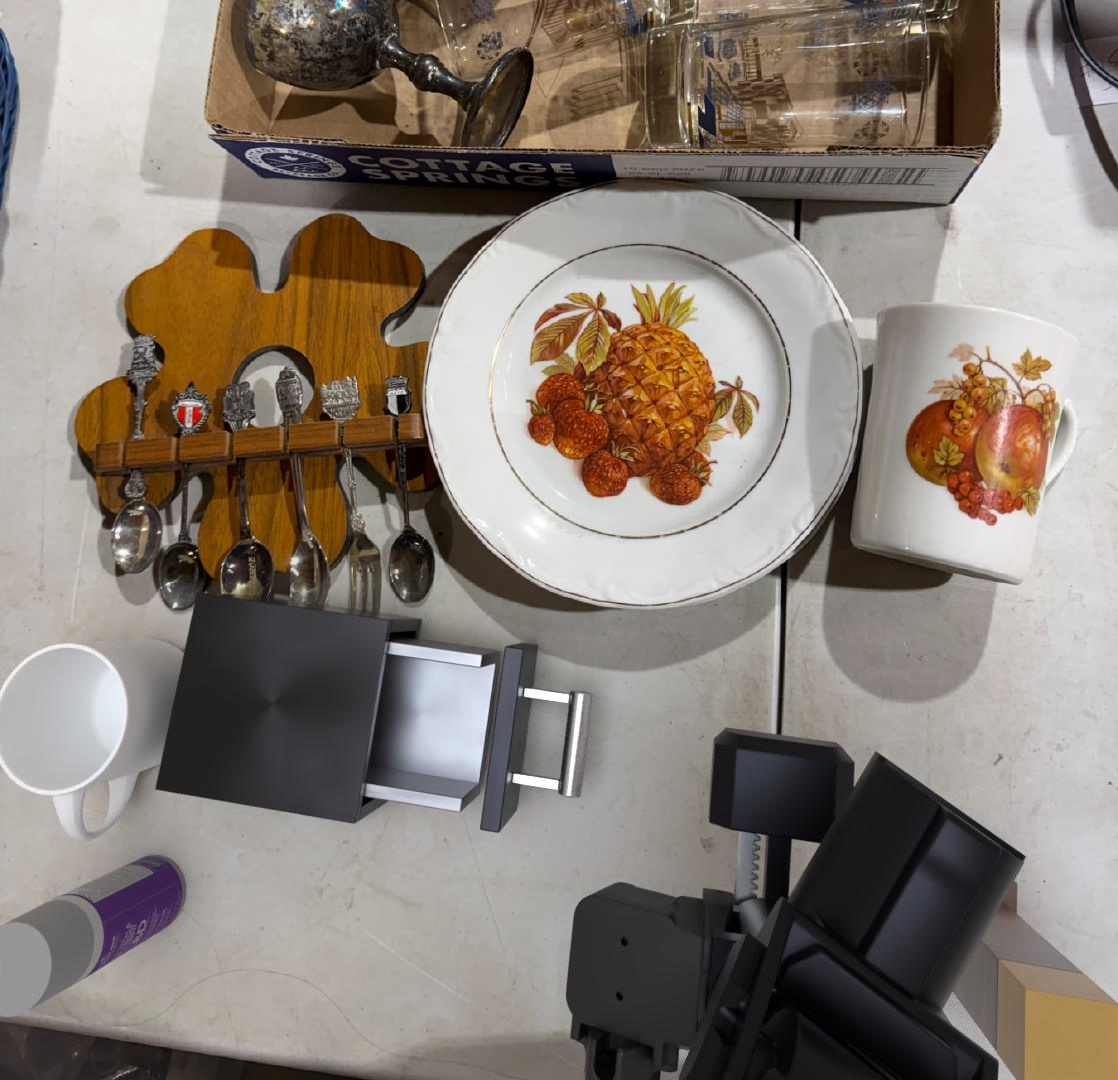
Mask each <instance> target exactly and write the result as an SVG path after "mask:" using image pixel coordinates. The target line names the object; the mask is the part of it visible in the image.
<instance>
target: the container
mask: <svg viewBox="0 0 1118 1080" xmlns="http://www.w3.org/2000/svg"><path fill="white" fill-rule="evenodd" d="M185 881H186V880H185V877H184V875H183V873H182V870H181V869H180V868H179V866H178V864H176V863H175V861H173V860H172V859H170V858H168V857H166V856H164V855H161V854H160V855H159V854H150V855H146V856H143V857H141V858H139V859H136V860H134V861H132V862H130V863H128V864H125V865H122V866H121V867H118V868H117V869H115V870H113V871H110V872H108V873H106V874H104V875H102V876H100V877H97V878H95V879H92V880H90V881H89V882H86V883H85V884H82V885H80V886H77V887H75V888H73V889H71V890H69V891H67V892H65V893H62V894H61V895H58V896H56V897H54V898H51V899H50V900H47V901H46V902H44V903H43V904H41V905H38V906H36V907H34V908H32V909H31V910H29V911H27V912H24V913H23V914H21V915H18V916H17V917H15V918H13V919H11V920H9V921H8V922H5V923H3V924H1V925H0V1017H1V1018H14V1017H17V1016H20V1015H23V1014H25V1013H27V1012H28V1011H30V1010H32V1009H34V1008H36V1007H37V1006H39V1005H40V1004H42V1003H44V1002H46V1001H48V1000H49V999H51V998H53V997H55V996H56V995H58V994H60V993H62V992H63V991H65V990H67V989H69V988H70V987H72V986H74V985H75V984H78V983H79V982H82V981H83V980H85V979H87V978H88V977H89V976H91V975H92V974H94V973H96V972H98V971H99V970H101V969H102V968H103V967H105V966H107V965H108V964H111V963H112V962H114V961H115V960H117V959H118V958H120V957H121V956H123V955H125V954H126V953H128V952H129V951H131V950H133V949H134V948H136V947H137V946H139V945H140V944H141V945H142V943H144V942H146V941H147V940H149V939H150V938H153V936H155V935H157V934H158V933H160V932H162V931H163V930H165V929H167V927H169V926H170V925H171V924H172V923H174V922H175V920H176V919H177V918H178V916H179V915H180V914H181V911H182V909H183V907H184V904H185V899H186V893H187V891H186V882H185Z"/></svg>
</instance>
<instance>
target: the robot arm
mask: <svg viewBox="0 0 1118 1080" xmlns="http://www.w3.org/2000/svg"><path fill="white" fill-rule="evenodd" d="M712 741H713V742H712V753H711V754H712V756H711V768H710V769H711V770H710V780H709V793H708V794H709V795H708V823H709V824H711V825H714V826H717V827H721V828H724V829H726V830H730V831H734V832H735V831H736V832H737V841H736V856H735V859H736V860H735V871H734V883H733V884H734V886H733V888H734V889H733V892H732V891H727V890H721V889H714V888H710V887H702V896H701V897H695V896H688V895H682V894H681V895H678V896H675V895H670V894H666V893H662V892H659V891H655V890H651V889H647V888H643V887H639V886H636V885H634V884H633V883H629V882H625V881H617V882H614V883H612V884H610V885H608V886H605V887H603V888H601V889H599V890H597V891H595V892H592V893H591V894H589V895H587V896H585V897H583V898H581V899H580V901H579V902H578V903H577V905H576V906H575V909H574V912H573V917H572V927H571V928H572V929H571V938H570V946H569V956H568V966H567V974H566V975H567V977H566V987H565V1001H566V1004H567V1008H568V1009H569V1011H570V1013H571V1025H570V1035H569V1039H570V1040H573V1041H575V1042H577V1043H580V1044H581V1045H583V1047H584V1050H585V1060H584V1071H583V1072H584V1080H661V1076H662V1072H664V1073H669V1074H671V1073H676V1072H677V1071H678V1069H679V1068H678V1067H679V1056H680V1050H684V1051H688V1052H687V1055H686V1057H685V1060H684V1062H683V1063H682V1066H681V1069H680V1071H679V1075H678V1080H999V1069H1000V1062H999V1059H998V1058H996V1057H995V1056H994V1055H993V1054H991V1053H990V1052H988V1051H987V1050H985V1048H983V1047H982V1046H980V1045H979V1044H978V1043H977V1042H975V1041H974V1040H972V1039H971V1038H970V1037H969V1036H967V1035H966V1034H965V1033H963V1031H960V1030H959V1029H958V1028H956V1026H954V1025H953V1023H952V1022H951V1021H950V1019H949V1018H948V1016H947V1015H946V1013H945V1012H944V1010H943V1009H944V1008H945V1006H946V1004H947V1002H948V1001H949V999H950V997H951V995H952V993H953V990H954V988H955V986H956V984H957V982H958V981H959V979H960V977H961V975H962V974H963V972H964V970H965V968H966V966H967V965H968V963H969V961H970V959H971V957H972V956H973V954H974V952H975V950H976V948H977V947H978V945H979V943H980V941H981V939H982V938H983V936H984V934H985V932H986V931H987V929H988V927H989V925H990V923H991V922H992V920H993V918H994V916H995V914H996V913H997V911H998V909H999V907H1000V905H1001V904H1002V902H1003V900H1004V898H1005V896H1006V895H1007V893H1008V891H1009V889H1010V887H1011V886H1012V884H1013V882H1014V881H1016V879H1017V877H1018V875H1019V874H1020V871H1021V870H1022V868H1023V866H1024V864H1025V860H1026V858H1027V856H1026V855H1025V854H1023V853H1021V852H1020V851H1019V850H1018V849H1016V848H1015V847H1013V846H1012V845H1010V844H1009V843H1008V842H1006V841H1005V840H1003V839H1002V838H1001V837H999V836H998V835H996V833H994V832H992V831H991V830H989V829H987V828H986V827H985V826H984V825H982V824H981V823H979V822H978V821H976V820H975V819H973V818H972V817H971V816H969V815H968V814H966V813H965V812H964V811H962V810H961V809H959V808H958V807H957V806H956V805H953V804H952V803H951V802H950V801H948V800H947V799H945V798H944V797H942V796H941V795H940V794H938V793H936V792H935V791H934V790H932V789H930V787H928V786H926V785H925V784H924V783H922V782H921V781H919V780H918V779H916V778H915V777H913V776H912V775H911V774H910V773H908V772H906V771H905V770H904V769H902V768H901V767H900V766H898V765H897V764H895V763H893V762H892V761H891V760H889V759H888V758H887V757H885V756H884V755H882V754H881V753H879V752H878V751H877V750H875V751H874V753H873V754H872V756H871V757H870V759H869V761H868V763H867V764H866V766H865V768H864V769H863V771H862V773H861V774H860V776H859V778H858V779H857V781H856V783H855V772H856V771H855V769H856V763H855V761H854V759H852V758H851V756H850V755H849V754H848V753H847V751H846V750H845V749H844V748H843V746H842V745H840V744H839V743H838V742H836V741H829V740H823V739H814V738H806V737H799V736H793V735H785V734H778V733H769V732H762V731H755V730H749V729H741V728H733V727H724V728H723V730H721V731H720V732H719V733H718V734H716V736H715V737H713V740H712ZM761 835H762V836H765V845H764V859H763V860H764V861H763V878H762V895H761V897H758V893H755V892H754V891H756V890H759V885H758V884H757V883H756V882H753V881H758V880H759V877H760V876H759V874H757V873H755V871H759V870H760V865H759V864H757V863H755V862H757V861H760V860H761V856H760V854H757V853H755V852H759V851H761V846H760V845H759V844H757V843H756V842H761V841H762V836H761ZM793 840H795V841H802V842H809V843H813V844H819V845H818V847H817V849H816V850H815V852H814V853H813V855H812V857H811V859H809V862H808V863H807V865H806V867H805V869H804V870H803V872H802V873H801V875H800V877H799V879H798V881H796V884H795V885H794V886H793V889H792V891H791V892H790V879H791V878H790V877H791V863H792V844H793Z"/></svg>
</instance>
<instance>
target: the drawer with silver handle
mask: <svg viewBox="0 0 1118 1080" xmlns="http://www.w3.org/2000/svg"><path fill="white" fill-rule="evenodd" d="M538 650H539V645H538V644H535V643H527V642H519V643H514V644H510V645H505V646H504V649H503V657H502V665H501V672H500V679H499V685H498V686H499V687H498V692H497V693H498V695H497V700H496V709H495V716H494V723H493V730H492V739H491V745H490V751H489V752H490V753H489V758H488V759H489V760H488V766H487V774H486V782H485V787H484V788H485V789H484V796H483V804H482V810H481V818H480V825H479V830H480V831H484V832H491V833H495V834H496V833H497V834H499V833H501V831H502V830H503V829H504V828H505V826H506V825H507V824H508V822H509V821H510V820H511V818H513V816H514V815H515V813H516V812H517V811H518V804H519V797H520V788H521V786H528V787H532V788H538V789H545V790H552V791H558V792H557V793H558V794H559V795H560V796H563V797H566V798H571V799H572V798H573V799H577V798H581V797H582V792H583V791H582V790H583V784H584V774H585V767H586V758H587V749H588V748H587V747H588V739H589V731H590V722H591V713H592V704H593V697H594V695H593V692H589V691H584V690H577V689H572V690H570V691H569V692H564V691H557V690H551V689H545V688H537V687H534V681H535V675H536V673H535V672H536V665H537V659H538ZM499 660H500V650H498V649H490V648H484V647H477V646H470V645H462V644H455V643H449V642H441V641H434V640H430V639H429V640H427V639H423V638H422V639H421V638H419V639H415V638H408V637H401V636H394V635H389V641H388V648H387V654H386V660H385V666H384V672H383V678H382V684H381V690H380V696H379V702H378V708H377V714H376V720H375V726H374V733H373V739H372V745H371V751H370V757H369V763H368V769H367V775H366V781H365V787H364V793H363V797H369V798H375V799H381V800H387V801H388V802H394V803H400V804H406V805H412V806H417V807H422V808H423V807H424V808H430V809H435V810H440V811H441V810H442V811H447V812H453V813H459V814H460V813H461V812H463V811H464V810H465V808H466V807H467V806H469V805H470V804H471V803H472V802H474V801H475V799H477V798H478V796H479V795H480V794H481V790H482V782H483V774H484V767H485V760H486V752H487V745H488V738H489V730H490V725H491V716H492V709H493V702H494V696H495V688H496V680H497V673H498V667H499ZM532 699H533V700H537V701H545V702H552V703H558V704H564V705H565V704H566V705H568V709H567V717H566V725H565V735H564V741H563V749H562V750H563V751H562V759H561V768H560V775H559V777H558V778H557V777H552V776H545V775H539V774H532V773H527V772H523V766H524V759H525V752H526V750H525V749H526V745H527V744H526V743H527V737H528V728H529V720H530V711H531V705H532Z"/></svg>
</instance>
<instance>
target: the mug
mask: <svg viewBox="0 0 1118 1080" xmlns="http://www.w3.org/2000/svg"><path fill="white" fill-rule="evenodd" d="M183 655H184V651H182V650H181V649H180V648H179V647H177V646H175V645H174V644H171V643H168V642H167V641H164V640H159V639H155V638H154V639H153V638H129V639H116V640H115V639H112V640H95V641H78V642H77V641H76V642H61V643H55V644H51V645H49V646H45V647H43V648H40V649H39V650H37V651H35V652H33V653H32V654H30V655H29V656H27V657H26V658H25V659H24V660H22V661H21V662H20V663H19V664H18V665H17V666H16V667H15V668H14V669H13V670H12V671H11V673H10V674H9V675H8V677H7V678H6V680H5V682H4V683H3V685H2V687H1V688H0V766H1V768H2V770H3V771H4V773H5V774H6V775H7V776H8V777H9V779H11V780H12V781H13V783H15V784H16V785H18V786H19V787H20V788H22V789H24V790H27V791H28V792H31V793H34V794H37V795H40V796H41V795H42V796H49V797H50V796H51V798H52V801H53V805H54V809H55V812H56V815H57V818H58V820H59V823H60V824H61V826H62V828H63V830H64V831H65V832H66V834H67V835H68V836H70V837H71V838H72V839H74V840H77V841H79V842H90V841H92V840H95V839H96V838H98V837H100V836H102V835H104V834H105V833H106V832H107V831H108V830H110V829H111V828H112V827H113V826H114V825H115V823H116V822H117V821H118V820H119V818H120V817H121V815H122V814H123V812H124V811H125V809H126V807H127V806H128V804H129V802H130V799H131V796H132V794H133V792H134V789H135V786H136V783H137V780H138V776H139V774H140V773H141V772H143V771H147V770H149V769H151V768H154V767H156V766H158V765H159V766H160V764H161V759H162V754H163V750H164V745H165V740H166V736H167V731H168V726H169V721H170V717H171V712H172V707H173V703H174V698H175V693H176V688H177V684H178V679H179V674H180V670H181V665H182V660H183ZM106 782H107V784H108V791H109V793H108V795H109V802H108V809H107V813H106V815H105V818H104V820H103V822H102V824H101V825H100V827H98V828H97V829H96V830H94V831H88V829H86V827H85V823H84V817H83V811H84V810H83V809H84V802H85V796H86V792H87V790H88V788H90V787H94V786H96V785H99V784H103V783H106Z"/></svg>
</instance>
